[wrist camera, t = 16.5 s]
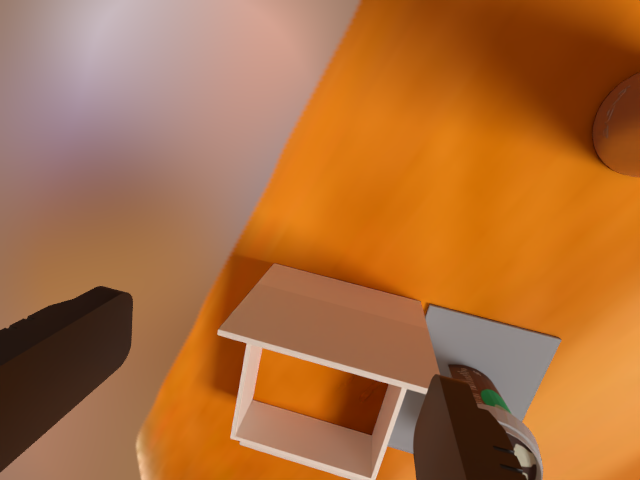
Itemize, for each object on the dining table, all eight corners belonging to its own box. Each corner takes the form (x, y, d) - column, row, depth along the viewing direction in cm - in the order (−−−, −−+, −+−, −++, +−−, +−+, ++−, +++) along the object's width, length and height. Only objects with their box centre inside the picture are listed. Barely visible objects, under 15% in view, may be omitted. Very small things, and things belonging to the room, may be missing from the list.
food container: (513, 439, 42) (554, 528, 32) (458, 442, 43) (482, 528, 33) (504, 347, 39) (545, 415, 29) (446, 353, 40) (467, 419, 30)
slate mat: (559, 337, 38) (561, 339, 37) (493, 475, 44) (494, 478, 43) (429, 303, 39) (430, 305, 39) (382, 442, 45) (382, 444, 45)
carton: (420, 301, 39) (445, 393, 25) (361, 479, 47) (354, 626, 33) (274, 263, 41) (218, 329, 26) (240, 442, 49) (183, 567, 34)
